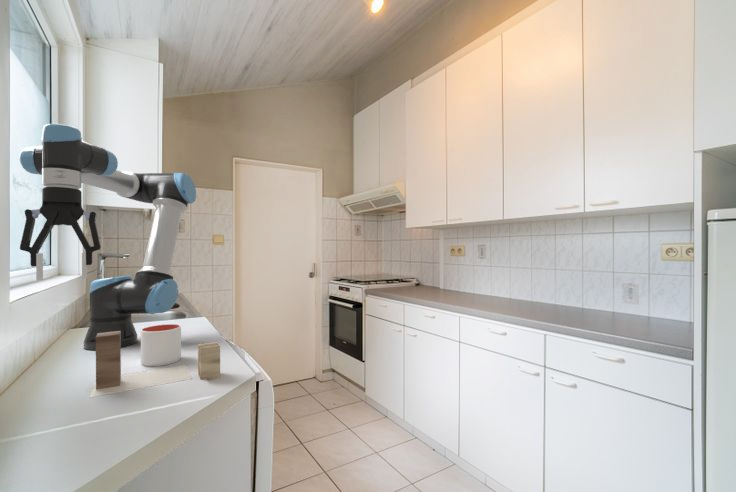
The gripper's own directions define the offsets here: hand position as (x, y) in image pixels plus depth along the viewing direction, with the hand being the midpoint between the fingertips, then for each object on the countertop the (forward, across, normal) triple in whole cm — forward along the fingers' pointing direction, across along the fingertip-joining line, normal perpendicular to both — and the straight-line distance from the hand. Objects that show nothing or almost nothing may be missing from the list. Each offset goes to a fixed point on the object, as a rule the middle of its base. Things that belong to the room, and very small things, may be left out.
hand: (62, 279), depth 90 cm
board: (+25, +17, -12) cm, 33 cm away
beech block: (+25, +31, -18) cm, 44 cm away
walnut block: (+25, +10, -12) cm, 29 cm away
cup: (+26, +21, +2) cm, 33 cm away
